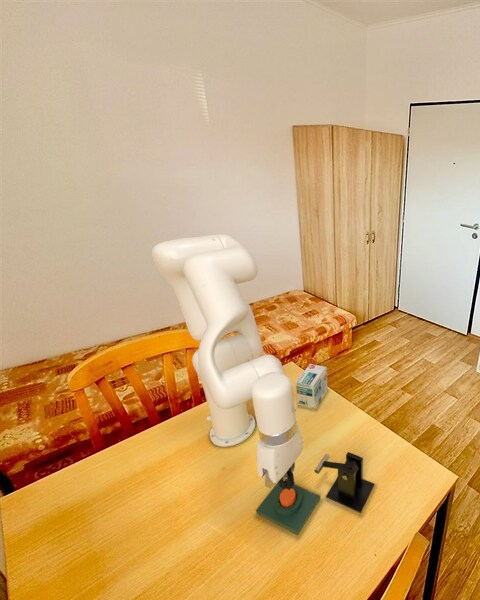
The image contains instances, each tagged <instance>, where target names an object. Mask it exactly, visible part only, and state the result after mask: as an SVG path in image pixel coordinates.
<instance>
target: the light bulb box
mask: <svg viewBox="0 0 480 600" xmlns="http://www.w3.org/2000/svg"><path fill="white" fill-rule="evenodd" d="M295 386H296V396H297V405H298V406H302V407H306V408H310V409H313V410H317V408H318V407H319V405H320V403H321V402H322V400H323V399H324V397H325V395H326V394H327V392H328V368H327V366H323V365H317V364H313V363H309V364H308V366H307V367H306V368H305V370H304V371H303V372H302V373H301V375H299V377H298V378H297V380H296V381H295Z"/></svg>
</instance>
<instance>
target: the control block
mask: <svg viewBox="0 0 480 600" xmlns="http://www.w3.org/2000/svg"><path fill="white" fill-rule="evenodd" d="M285 489H286V488H285ZM285 489H283V488H281V487H280V486H279V482H276V483H275V484H274V486H273V488H272V489H271V490H270V492H269V493H268V494H267V496H266V497H265V498H264V499H263V500H262V502H261V503H260V505H259V506H258V507H257V508H256V510H255V513H256V515H258V516H260V517H262V518H264V519H266V520H268V521H269V522H272V523H273V524H275V525H277V526H278V527H281V528H283V529H285V530H287V531H288V532H290V533H292V534H295V535H296V536H299V535H300V533H301V532H302V530H303V528H304V526H305V525H306V523H307V521H308V520H309V518H310V517H311V515H312V514H313V512H314V510H315V509H316V507H317V505H318V504H319V503H320V501H321V495H318V494H316V493H315V492H312V491H310V490H308V489H305V488H303V487H301V486H300V485H297V484H295V483H294V485H293V486H292V489H294V490H295V494H296V500H295V502H294V503H293V504H292V505H291V506H289V507H284V506H282V505H281V503H280V494H281V492H282V491H283V490H285Z"/></svg>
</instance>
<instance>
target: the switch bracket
mask: <svg viewBox="0 0 480 600" xmlns="http://www.w3.org/2000/svg"><path fill="white" fill-rule="evenodd" d="M347 460H351V461H356V463H357V465H358V468H359V469H358V470H357V472H356V471H354V470H351V469H349V468H347V467H344V466H342V465H339V467H338V469H337V477H336V479H335V481H334V482H333V483H332V486H331V487H330V489H329V490H328V493H327V494H326V496H325V498H327V499H329V500H331V501H333V502H335V503H337V504H340V505H342V506H344V507H347V508H348V509H351V510H353V511H355V512H357V513H359V514H362V512H363V510H364V508H365V506H366V503H367V501H368V499H369V497H370V495H371V493H372V492H373V489H374V487H375V483H373V482H371V481H368V480H366V479H364V457H362V456H359V455H357V454H354V453H353V452H349V451H347V452H346V454H345V462H346V461H347Z"/></svg>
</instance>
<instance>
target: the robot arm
mask: <svg viewBox="0 0 480 600" xmlns="http://www.w3.org/2000/svg"><path fill="white" fill-rule="evenodd" d="M151 259H152V261H153V264H154V266H155V268H156V270H157V272H158V274H159V275H160V276H161V278H162V279H163V280H164V281H165V282H166V283H167V285H168V286H169V287H170V288H171V290H172V292H174V294H175V296H176V300H177V302H178V305H179V308H180V311H181V315H182V317H183V320H184V322H185V325H186V328H187V331H188V333H189V335H190V337H191V338H192V339H193V340H195V341H197V342H199V346H198V349H197V350H196V351H195V352H194V353H193V355H192V358H191V362H192V366H193V368H194V371H195V373H196V375H197V377H198V378H199V380H200V384H201V386H202V388H203V392H204V395H205V399H206V403H207V406H208V410H209V414H210V415H208V416H207V417H206V420H207V421H208V422H211V425H212V427H211V429H210V430H209V438H210V441H211V442H212V443H213V445H215V446H218V447H225V448H227V447H232V446H233V447H234V446H236V445H238V444H241V443H242V442H244V441H245V440H247V439H248V438H249V437H250V436H251V435H252V434H253V433H254V431H255V428H256V427H257V431H258V436H259V440H258V441H257V443H256V450H255V459H256V461H255V462H256V470H257V475H258V477H259V478H261V479H262V478H264V487H266V488H268V489H271V488H272V487H274V486H275V485H276V484H277V483H278V482H279V486H280V487H281V488H283V489H285V488H286V489H288V490H290V489H291V488H292V486H293V485H294V484H295V477H294V476H295V475H294V473H293V472H294V471H295V470H296V468H295V467H296V461H297V460H298V458H299V457H300V456H301V454H302V452H303V450H304V440H303V434H302V431H301V426H300V425H299V423H298V421H297V413H296V412H297V408H296V405H295V396H294V395H295V394H294V388H293V381H292V380H291V378H290V377H289V376H288V375H287V374H286V373H285V371H284V368H283V364H282V362H281V361H280V359H279V358H277V357H276V356H275V355H274V354H268V353H267V354H264V347H263V343H262V339H261V336H260V333H259V330H258V326H257V322H256V320H255V319H256V318H255V316H254V312H253V310H252V307H251V306H250V305H251V304H249V302H248V301H247V300H246V299H245V298H243V295H242V293H241V291H240V289H239V287H238V284H243V283H247V282H252V281H253V280H255V279H256V277H257V276H258V265H257V262H256V260H255V259H256V258H255V257H254V256H253V254H252V253H251V252H250V251H249V249H248V248H247V247H246V246H244V245H243V244H242V242H240V241H238V240H237V239H235V238H234V237H232V236H231V235H229V234H224V233H218V234H217V233H216V234H208V235H201V236H192V237H182V238H176V239H170V240H166V241H161V242H159V243H158V244H155V245H154V246H153V247H152V249H151ZM234 332H237V333H238V334H235V335H232V336H229V337H227V338H226V337H225V338H223V337H224V336H225V335H228V334H231V333H234ZM222 338H223V339H222ZM250 400H252V405H253V409H254V415H255V417H254V416H253V415H252V414H251V413H249V411H248V405H247V402H248V401H250Z"/></svg>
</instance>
